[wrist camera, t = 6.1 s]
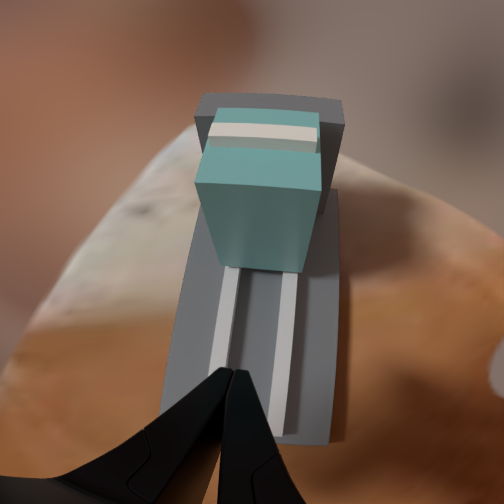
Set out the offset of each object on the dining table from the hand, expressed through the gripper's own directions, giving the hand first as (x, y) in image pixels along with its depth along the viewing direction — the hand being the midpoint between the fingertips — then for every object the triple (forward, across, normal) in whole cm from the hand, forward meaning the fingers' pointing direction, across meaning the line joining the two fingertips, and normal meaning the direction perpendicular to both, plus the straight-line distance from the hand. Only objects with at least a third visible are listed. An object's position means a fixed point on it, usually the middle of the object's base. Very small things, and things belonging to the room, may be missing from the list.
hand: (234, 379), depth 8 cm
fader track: (+10, 0, +2) cm, 10 cm away
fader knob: (+11, 0, -1) cm, 11 cm away
